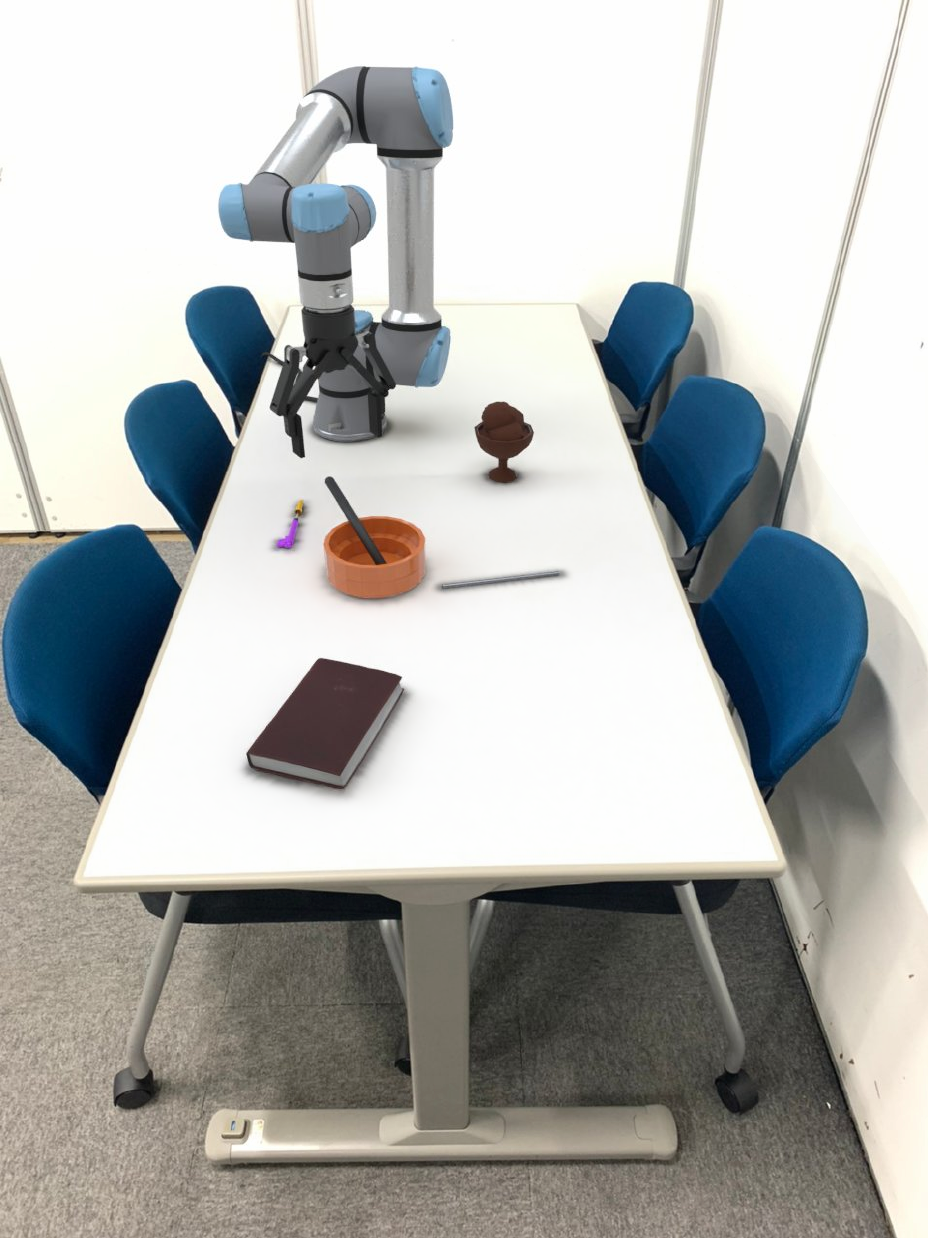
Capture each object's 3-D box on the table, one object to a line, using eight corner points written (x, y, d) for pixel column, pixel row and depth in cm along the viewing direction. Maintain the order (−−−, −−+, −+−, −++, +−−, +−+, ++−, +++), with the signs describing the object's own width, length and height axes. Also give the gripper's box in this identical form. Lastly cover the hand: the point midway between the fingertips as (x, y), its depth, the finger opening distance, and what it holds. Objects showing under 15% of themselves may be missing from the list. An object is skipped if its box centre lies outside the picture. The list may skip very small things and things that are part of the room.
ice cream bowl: (527, 491, 165) (531, 414, 156) (468, 485, 166) (468, 409, 158) (535, 466, 173) (539, 392, 164) (478, 461, 175) (480, 387, 166)
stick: (327, 529, 151) (322, 476, 145) (335, 526, 152) (331, 473, 146) (388, 586, 138) (386, 530, 132) (397, 583, 139) (395, 527, 133)
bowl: (309, 566, 143) (306, 533, 140) (393, 538, 151) (391, 507, 147) (357, 612, 133) (355, 579, 130) (444, 580, 140) (444, 547, 137)
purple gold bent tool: (293, 548, 147) (305, 502, 160) (290, 542, 147) (303, 496, 160) (277, 551, 148) (291, 505, 161) (275, 545, 147) (289, 500, 160)
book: (247, 769, 107) (243, 749, 105) (319, 672, 122) (317, 653, 120) (343, 794, 104) (341, 775, 102) (404, 692, 118) (404, 673, 117)
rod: (441, 587, 139) (441, 583, 139) (557, 573, 142) (558, 570, 142) (441, 590, 139) (441, 586, 138) (559, 576, 142) (559, 572, 142)
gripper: (257, 327, 119) (275, 472, 131) (415, 298, 130) (418, 433, 143) (234, 313, 124) (254, 454, 136) (388, 286, 135) (394, 418, 148)
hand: (338, 444), depth 139 cm, fingers open, 13 cm apart
